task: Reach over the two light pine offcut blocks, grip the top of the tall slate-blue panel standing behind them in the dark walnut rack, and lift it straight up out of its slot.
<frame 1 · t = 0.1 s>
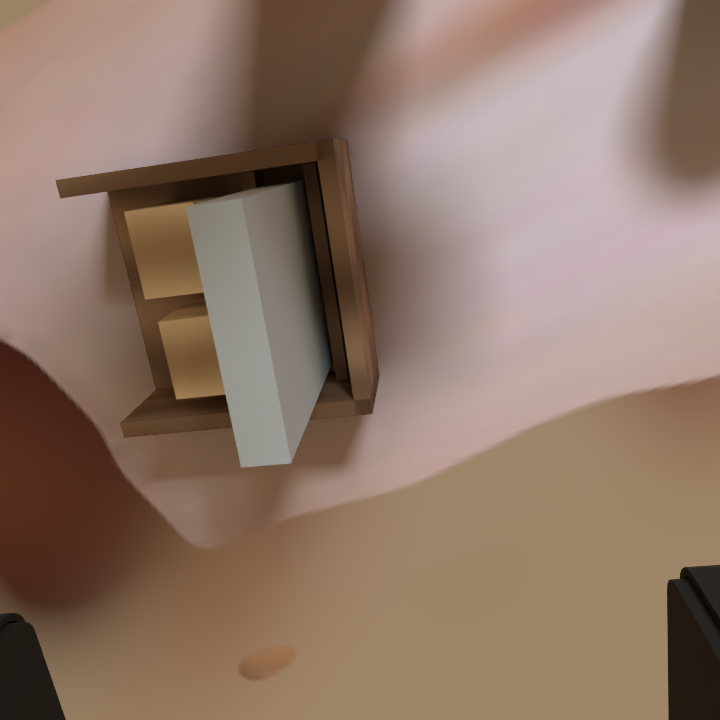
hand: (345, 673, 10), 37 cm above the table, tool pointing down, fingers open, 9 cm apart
short pine offcut: (226, 331, 46), point 1 cm above the table, touching walnut rack
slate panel: (303, 273, 44), point 1 cm above the table, touching walnut rack
walnut rack: (248, 278, 46), on the table
tall pine offcut: (206, 235, 44), point 1 cm above the table, touching walnut rack
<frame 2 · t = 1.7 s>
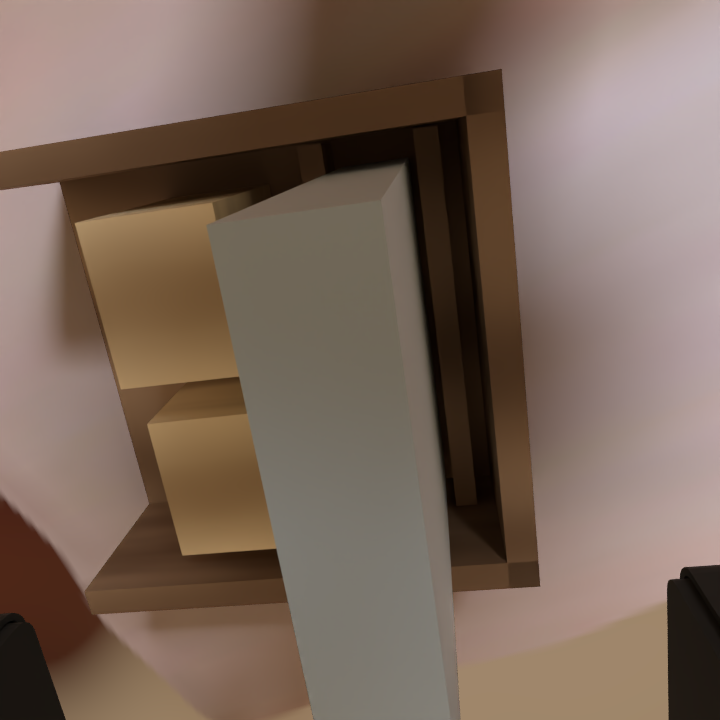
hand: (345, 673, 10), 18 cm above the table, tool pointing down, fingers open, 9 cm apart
short pine offcut: (263, 414, 28), point 1 cm above the table, touching walnut rack
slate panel: (396, 321, 26), point 1 cm above the table, touching walnut rack
walnut rack: (301, 326, 27), on the table
tall pine offcut: (231, 257, 26), point 1 cm above the table, touching walnut rack
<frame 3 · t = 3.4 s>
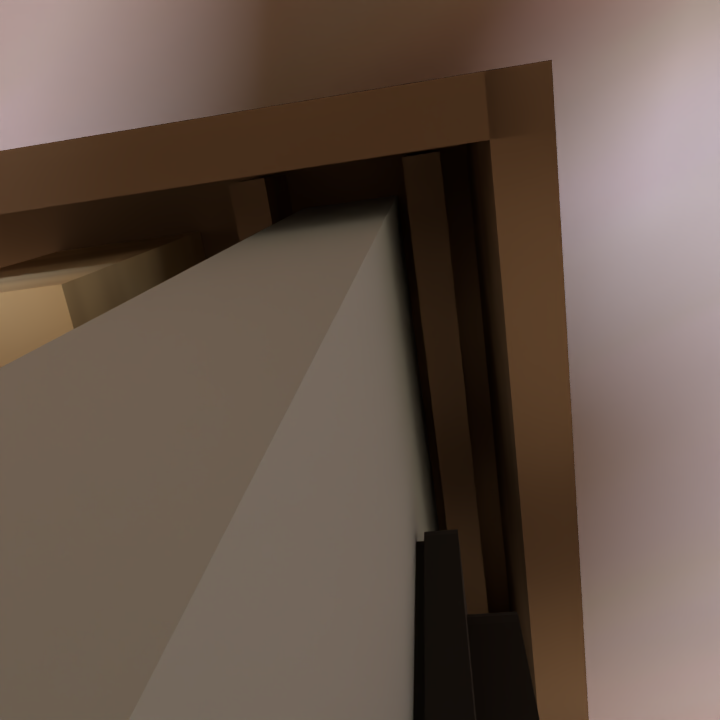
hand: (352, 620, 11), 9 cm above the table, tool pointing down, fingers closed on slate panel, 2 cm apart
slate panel: (381, 420, 18), point 1 cm above the table, touching gripper, walnut rack
walnut rack: (251, 420, 20), on the table
tall pine offcut: (149, 332, 18), point 1 cm above the table, touching walnut rack
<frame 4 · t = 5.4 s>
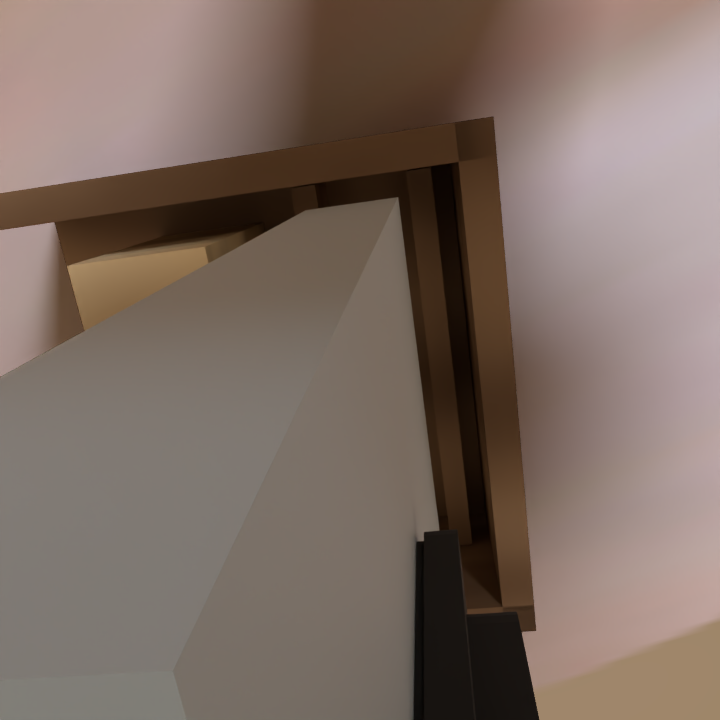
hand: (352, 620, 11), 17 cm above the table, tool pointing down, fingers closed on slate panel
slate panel: (382, 419, 19), point 8 cm above the table, touching gripper
walnut rack: (294, 362, 27), on the table
tall pine offcut: (224, 295, 26), point 1 cm above the table, touching walnut rack
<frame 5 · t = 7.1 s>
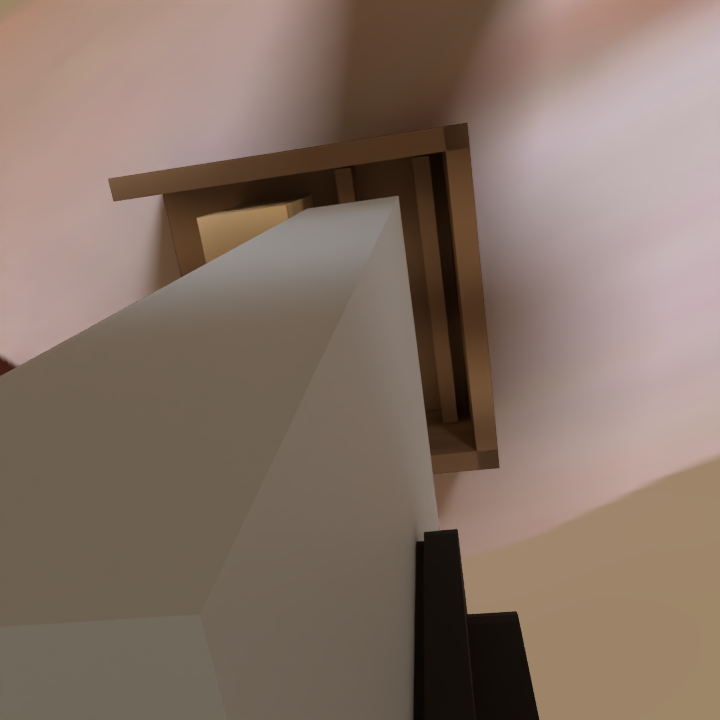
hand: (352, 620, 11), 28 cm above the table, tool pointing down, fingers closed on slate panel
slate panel: (383, 416, 19), point 19 cm above the table, touching gripper
walnut rack: (331, 297, 38), on the table
tall pine offcut: (283, 246, 36), point 1 cm above the table, touching walnut rack
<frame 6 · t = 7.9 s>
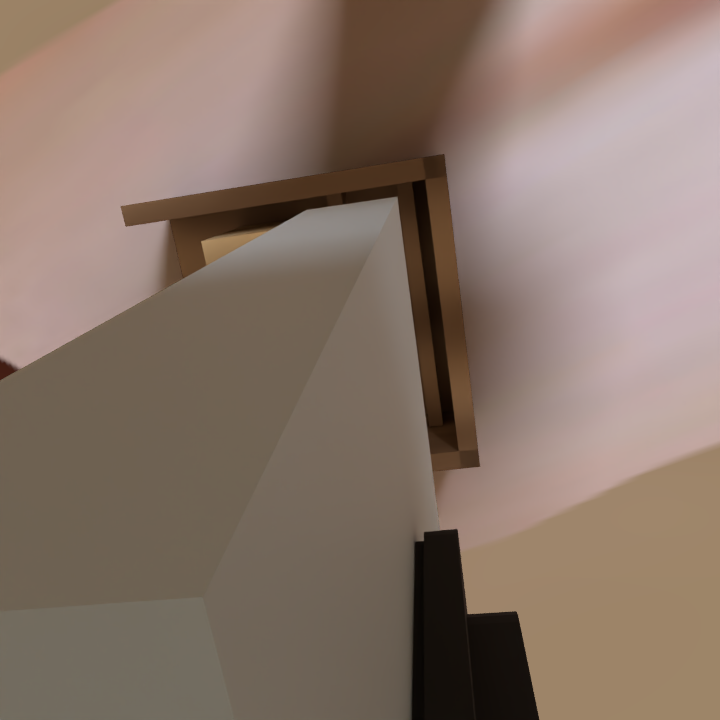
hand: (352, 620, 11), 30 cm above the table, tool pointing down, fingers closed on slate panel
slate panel: (383, 415, 19), point 22 cm above the table, touching gripper
walnut rack: (325, 311, 41), on the table
tall pine offcut: (280, 265, 39), point 1 cm above the table, touching walnut rack
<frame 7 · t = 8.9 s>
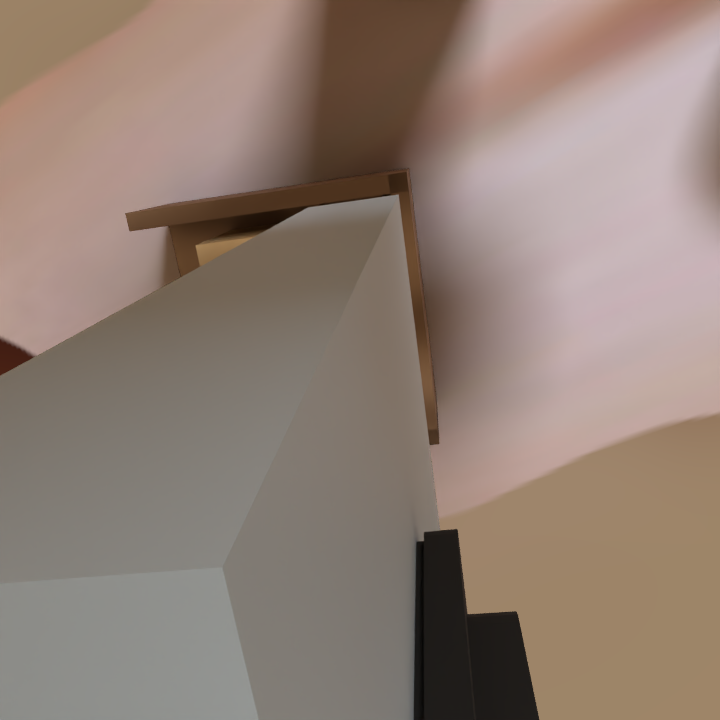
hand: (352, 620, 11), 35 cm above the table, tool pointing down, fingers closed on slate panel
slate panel: (383, 412, 19), point 26 cm above the table, touching gripper
walnut rack: (307, 305, 45), on the table
tall pine offcut: (266, 264, 44), point 1 cm above the table, touching walnut rack
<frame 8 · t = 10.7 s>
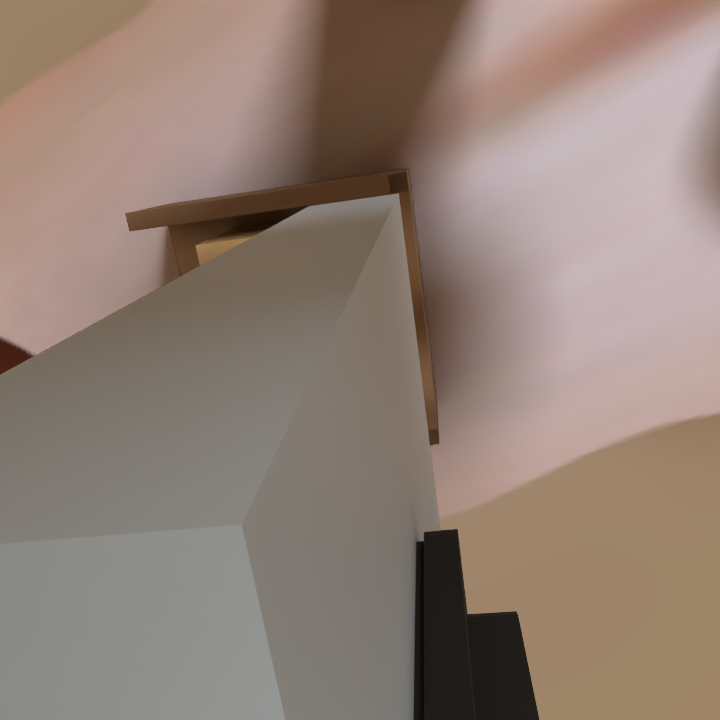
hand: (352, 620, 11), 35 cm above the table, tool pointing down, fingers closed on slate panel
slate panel: (383, 409, 19), point 26 cm above the table, touching gripper
walnut rack: (307, 305, 45), on the table
tall pine offcut: (266, 264, 44), point 1 cm above the table, touching walnut rack
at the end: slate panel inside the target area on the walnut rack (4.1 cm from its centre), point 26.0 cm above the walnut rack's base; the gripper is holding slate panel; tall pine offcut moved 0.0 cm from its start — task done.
